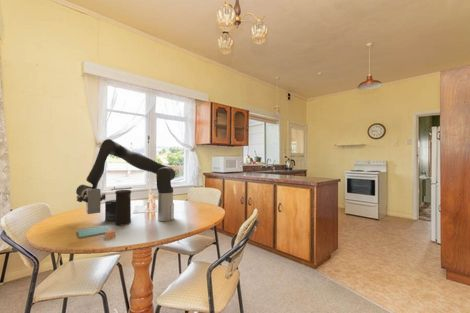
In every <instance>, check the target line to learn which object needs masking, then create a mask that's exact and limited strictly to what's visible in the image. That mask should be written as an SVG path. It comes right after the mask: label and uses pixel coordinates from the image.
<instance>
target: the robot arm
mask: <svg viewBox="0 0 470 313" xmlns="http://www.w3.org/2000/svg"><path fill="white" fill-rule="evenodd" d="M109 155H111V156H114V157H116V158H119V159H122V160H124V161H125V162H126V163H127V164H128V165H131V166H133V167H134V168H135V169H138V170H141V171H144V172H145V171H146V172H150V173H153V174H155V177H156V179H155V180H156V190H157V220H158V222H168V221H169V222H170V221H173V219H175V203H174V188H173V186H172V184H171V183H172V182H171V181H172V180H174V179H175V177H176V171H175V170H174V168H172V167H170V166H168V165H164V164H162V163H159V162H157V161H155V160H153V158H150V157H148V156H146V155H145V154H142V153H140V152H138V151H135V150H131V149H129V148H126V146H125V147H124V146H123V145H122V144H120V143H119V142H117V141H115V140H113V139H110V138H108V139H105V140H103V141H102V143H101V144H100V146H99V150H98V153H97V155H96V158H95V161H94V164H93V167H92V168H91V170H90V172H89V174H88V175H87V177H86V179H85V180H86V181H87V182H88V183H89V184H91V185H92V186H90V185H86V184H80V185H79V186H78V187H77V188H76V189H75V193H76V195H77V196H76V201H77V202H79V203H82V202H83V203H88V198H87V189H98V184H99V182H100V180H101V179H102V177H103V175H104V172H105V167H106V166H105V165H106V161H107V158H108V157H109ZM106 195H107V194H106V192H105V193H102V194H101V195H100V202H102V201H103V200H104V201H105V200H106V198H107V197H106Z"/></svg>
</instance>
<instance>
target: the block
mask: <svg viewBox="0 0 470 313" xmlns="http://www.w3.org/2000/svg"><path fill="white" fill-rule="evenodd" d="M108 230H109V229H108ZM104 238H105V239H106V240H111V239H114V238H116V230H114V229H110V230H109V231H106V232H105V234H104Z"/></svg>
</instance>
